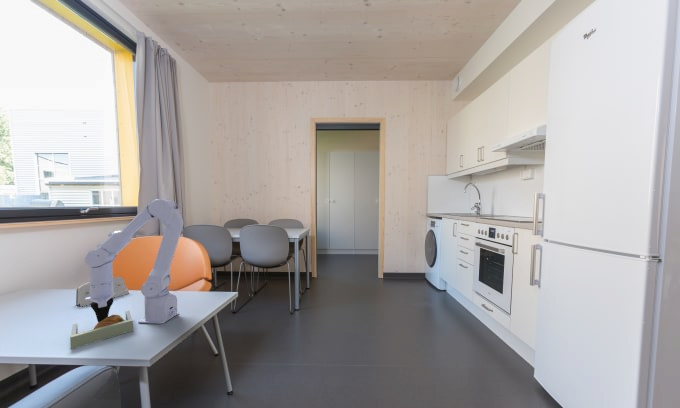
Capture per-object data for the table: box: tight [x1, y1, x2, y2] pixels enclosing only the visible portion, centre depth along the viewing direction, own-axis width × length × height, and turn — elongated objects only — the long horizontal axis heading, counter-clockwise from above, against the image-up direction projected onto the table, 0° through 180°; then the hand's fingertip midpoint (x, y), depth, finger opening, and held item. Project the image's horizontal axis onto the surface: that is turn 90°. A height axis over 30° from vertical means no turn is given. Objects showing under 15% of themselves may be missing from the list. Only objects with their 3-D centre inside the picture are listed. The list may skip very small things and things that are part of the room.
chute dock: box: [69, 310, 134, 350], centre depth 80 cm, size 12×14×4 cm
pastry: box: [93, 314, 125, 329], centre depth 81 cm, size 9×7×4 cm
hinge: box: [75, 276, 130, 308], centre depth 108 cm, size 17×5×10 cm, turn 153°
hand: (102, 321), depth 85 cm, fingers closed
